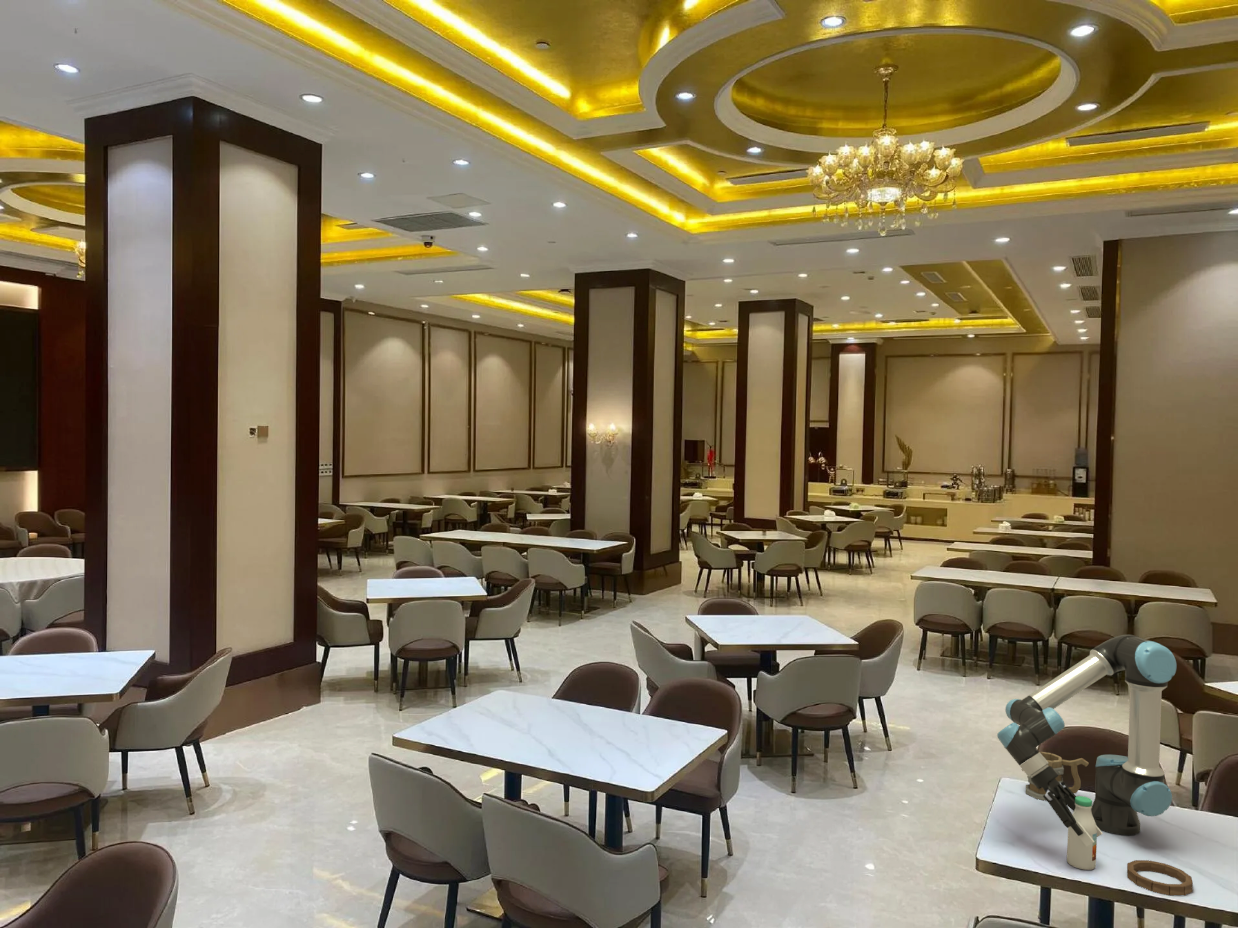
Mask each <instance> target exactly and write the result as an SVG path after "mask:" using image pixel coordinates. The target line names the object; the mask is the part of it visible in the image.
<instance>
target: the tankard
mask: <svg viewBox="0 0 1238 928" xmlns="http://www.w3.org/2000/svg"><path fill="white" fill-rule="evenodd" d="M1039 752H1040V753H1041V754H1042V756H1043V757H1044V758H1045V759H1046V760H1047V761H1048V764H1047V765H1048V766H1051V767H1052V768H1053V769H1054V770H1055V772H1056V773H1057V774H1058V777H1057V778H1055V779H1056V780H1057V781H1058V782H1059V783H1061V782H1062V781H1064V778H1063V776H1062V775H1064V771H1065V768H1064V766H1066V767H1068V766H1069V767H1070V773H1071V776H1072V779H1073V785H1072V786H1068V788H1069V789H1070V790H1071V791H1072V792H1073V793H1074V794H1077V793H1078V791H1079V790H1080V789H1081V786H1082V785H1081V782H1082V781H1081V778H1080V776H1079V773H1078V772H1079V771H1078V766H1079V765H1080V766H1081V765H1082V766H1084V768H1085V767H1087V766H1088V765H1089V762H1088V761H1087V760H1086V759H1084V758H1082V757H1081V758H1077V759H1073V760H1071V759H1070V760H1067V759H1063V758H1062V757H1061V756H1059V755H1057V754H1055V753H1052V752H1044V751H1039ZM1037 754H1038V753H1037ZM1034 756H1035V755H1034ZM1031 758H1032V757H1031ZM1026 776H1027V775H1026ZM1028 783H1029V784H1028ZM1025 794H1026V795H1027V796H1030V797H1031V798H1034V799H1036V800H1038V799H1039V800H1040V801H1044V800H1045V798H1044V797H1043V796H1044V795H1045V794H1046V792H1045V790H1044V789H1043V788H1040V789H1038V788H1037V787H1036V786H1035V785H1034V784H1033V782H1032V781H1031V776H1030V777H1029V776H1027V784H1025ZM1039 800H1038V801H1039ZM1045 802H1047V801H1046V800H1045Z"/></svg>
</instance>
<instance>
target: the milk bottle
mask: <svg viewBox="0 0 1238 928" xmlns="http://www.w3.org/2000/svg"><path fill="white" fill-rule="evenodd" d="M1075 805H1076V807H1075V810H1074V811H1072V812H1073V813H1072V815H1073V817H1074V818H1075V820H1076V822H1079V823H1080V824H1081V825H1082V827H1083V828H1084V829H1085V830H1086V832H1087V833H1088V834H1089V835H1090V837H1091V838H1092V839H1093V840H1094V841H1095V842H1094V843H1092V844H1090V845H1089V846H1087V847H1086V845H1085V844H1084V843H1083V842H1082V840H1081V839H1080V838H1079V837H1078V835H1077V834H1076V833H1075V832H1074V830H1073V829H1072V828H1071V827H1068V828H1067V846H1066V847H1067V848H1066V861H1067V864H1069V865H1070V866H1071V867H1073V868H1076V869H1079V870H1084V871H1092V870H1094V869H1096V865H1097V846H1098V845H1097V844H1098V842H1097V839H1098V837H1097V828H1096V823H1095V820H1094V818H1093V816H1092V812H1091V808H1092V805H1093V800H1092V799H1091V798H1090V797H1087V796H1082V795H1081V796H1080V795H1078V796H1077V795H1076V797H1075Z"/></svg>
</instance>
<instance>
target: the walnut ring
mask: <svg viewBox="0 0 1238 928" xmlns="http://www.w3.org/2000/svg"><path fill="white" fill-rule="evenodd" d="M1138 872H1153V873H1154V872H1155V873H1159V874H1162V875H1163V874H1164V875H1166V876H1169V877H1171V878H1174V879H1175V880H1178V881H1179V882H1180V883H1165V882H1161V881H1156V880H1152V879H1150V878H1147V877H1145V876H1143V875H1141V874H1140V873H1138ZM1126 878H1127V879H1128V880H1130V881H1131V882H1132V883H1133V884H1135V885H1137V886H1138V887H1140V886H1141V887H1140V888H1142V887H1143V889H1145V888H1146V889H1145V890H1147V889H1148V890H1147V891H1149V890H1150V892H1152V891H1153V893H1156V892H1157V894H1162V895H1165V894H1166V896H1174V895H1184V896H1187V895H1190V894H1191V893H1193V889H1194V887H1193V885H1194V884H1193V883H1194V881H1193V879H1192V876H1191V875H1189V874H1188V872H1187V873H1186V872H1185V871H1184V870H1183V869H1180V868H1178V867H1175V866H1172V865H1170V864H1167V863H1163V862H1160V861H1159V862H1158V861H1155V860H1150V859H1148V860H1147V859H1146V860H1145V859H1143V860H1142V859H1138V860H1137V859H1136V860H1135V859H1134V860H1132V861H1130V862H1128V863H1127V864H1126ZM1186 894H1187V895H1186Z"/></svg>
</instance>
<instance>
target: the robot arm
mask: <svg viewBox="0 0 1238 928" xmlns="http://www.w3.org/2000/svg"><path fill="white" fill-rule="evenodd" d="M1177 665H1178V664H1177V661H1176V658H1175V656H1174V654H1173V652H1172V651H1171V650H1170V649H1169V648H1168V647H1166V646H1164V645H1163V644H1161V643H1158V642H1156V641H1152V640H1148V639H1145V638H1142V637H1139V636H1138V635H1135V634H1134V635H1133V634H1122V635H1118V636H1115V637H1112V638H1110V639H1108V640H1106V641H1104V642H1102V643H1100V644H1098V645H1096V646H1095V647H1094V648H1092V649H1091V650H1090V651H1089V655H1087V657H1085V658H1083V659H1082V660H1080V661H1078V663H1076V664H1074V665H1073V666H1071V667H1070V668H1068V669H1067V670H1065V671H1064V672H1062V673H1061V674H1059V675H1057V676H1056V677H1054V678H1053V679H1051V680H1050V681H1049V682H1047V683H1046V684H1044V685H1042V686H1041V687H1039V688H1038V689H1036V690H1035V691H1034V692H1032V693H1030V694H1029V695H1027V696H1026V697H1024V698H1022V699H1019V698H1013V699H1011V700H1009V701H1008V702H1007V704H1006V705H1005V709H1004V710H1005V715H1006V716H1007V717H1008V719H1009V720H1011V721H1012V722H1011V723H1009V725H1007V726H1005V727H1004V728H1002V729H1001V730H1000V731H999V732H998V733H997V735H996V736H997V739H998V740H999V741H1000V743H1001V744H1002V745H1003V748H1004V749H1005V750H1006V751H1007V752H1008V754H1009V755H1010V756H1011V757H1012V759H1014V761H1015V762H1016V763H1017V764H1018V765H1019V767H1020V768H1021V771H1022V772H1024V773H1025V775H1026V776H1029V777H1030V776H1031V781H1032V782H1033V784H1034V785H1035V786H1036V787H1037V788H1038V789H1040V788H1043V789H1044V790H1045V792H1046V794H1045V795H1044V796H1043V797H1044V798H1045V800H1046V801H1045V802H1047V803H1048V804H1049V805H1050V807H1051V809H1052V810H1053V811H1054V812H1055V814H1056V815H1057V817H1058V818H1059V820H1060V821H1061V822H1062V824H1063V826H1065V828H1067V829H1068V827H1071V828H1072V829H1073V830H1074V832H1075V833H1076V834H1077V835H1078V837H1079V838H1080V839H1081V840H1082V842H1083V843H1084V844H1085V845H1086V847H1087V846H1089V845H1090V844H1092V843H1094V842H1095V841H1094V840H1093V839H1092V838H1091V837H1090V835H1089V834H1088V833H1087V832H1086V830H1085V829H1084V828H1083V827H1082V825H1081V824H1080V823H1079V822H1076V820H1075V818H1074V817H1073V815H1072V814H1073V813H1072V812H1074V810H1075V807H1076V805H1075V797H1077V795H1075V794H1076V793H1073V792H1072V791H1071V790H1070V789H1069V788H1068V787H1069V786H1068V785H1067V783H1066V782H1065V781H1064V780H1063V781H1062V782H1061V783H1059V782H1058V781H1057V780H1056V779H1055V778H1057V777H1058V774H1057V773H1056V772H1055V770H1054V769H1053V768H1052V767H1051V766H1048V765H1047V764H1048V761H1047V760H1046V759H1045V758H1044V757H1043V756H1042V754H1041V753H1040V752H1041V751H1039V750H1038V748H1037V747H1039V746H1040V745H1042V744H1043V743H1044V742H1046V741H1048V740H1049V739H1051V738H1053V737H1054V736H1055V735H1057V734H1058V733H1059V732H1061V731H1062V730H1064V729H1065V725H1066V724H1065V721H1064V719H1063V718H1062V716H1061V715H1060V713H1058V712H1057V711H1056V710H1055V709H1056V708H1057V707H1059V706H1060V705H1062V704H1063V703H1065V702H1067V701H1068V700H1070V699H1071V698H1073V697H1075V695H1077V694H1079V693H1081V692H1082V691H1084V690H1085V689H1086V688H1088V687H1090V686H1091V685H1093V684H1094V683H1096V682H1097V681H1099V680H1101V679H1102V678H1104V677H1105V676H1106V675H1107V676H1112V675H1114V674H1116V673H1118V672H1120V671H1124V682H1125V683H1126V684H1127V685H1128V686H1129V688H1130V690H1129V716H1128V717H1129V718H1128V741H1127V742H1128V743H1127V745H1128V746H1127V749H1128V751H1127V755H1126V756H1125V755H1118V754H1101V755H1098V756H1097V757H1096V763H1095V789H1094V790H1095V793H1094V800H1093V801H1092V808H1091V812H1092V816H1093V818H1094V820H1095V823H1096V828H1097V838H1098V837H1100V836H1101V835H1103V832H1107V833H1110V834H1116V835H1121V836H1133V835H1134V836H1135V835H1138V834H1140V832H1141V822H1140V819H1139V815H1138V813H1140V814H1141V815H1144V816H1145V817H1146V816H1147V817H1158V816H1160V815H1162V814H1164V812H1165V811H1167V810H1168V809H1169V808H1170V806H1171V805H1172V802H1173V794H1172V791H1171V789H1170V787H1169V786H1168V785H1167V784H1165V774H1166V773H1165V770H1163V769H1162V768H1161V766H1160V757H1161V756H1160V751H1161V750H1160V749H1161V748H1160V747H1161V727H1162V726H1161V724H1162V723H1161V722H1162V721H1161V719H1162V716H1161V715H1162V691H1164V690H1165V689H1166V688H1168V684H1169V683H1168V682H1169V681H1171V680H1172V678H1173V677H1174V676H1175V674H1176V672H1177ZM1037 753H1038V754H1037ZM1034 755H1035V756H1034ZM1031 757H1032V758H1031ZM1071 811H1072V812H1071ZM1102 831H1103V832H1102Z"/></svg>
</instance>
